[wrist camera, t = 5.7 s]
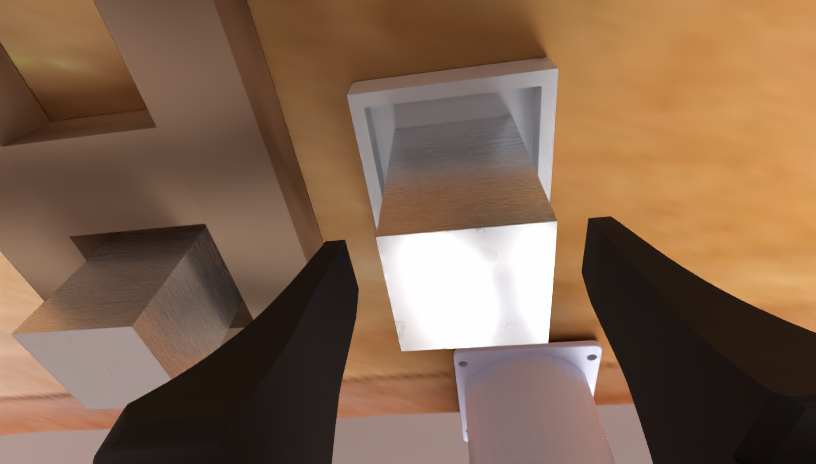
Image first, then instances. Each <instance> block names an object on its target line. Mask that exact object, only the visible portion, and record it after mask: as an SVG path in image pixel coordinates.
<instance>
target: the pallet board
mask: <svg viewBox="0 0 816 464" xmlns="http://www.w3.org/2000/svg"><path fill="white" fill-rule="evenodd" d="M93 1H94V3H95V5H96V7H97V9H98V11H99V13H100V15H101V17H102V19H103V21H104V23H105V25H106V27H107V29H108V31H109V33H110V35H111V37H112V39H113V41H114V43H115V45H116V47H117V49H118V51H119V53H120V55H121V57H122V59H123V61H124V63H125V65H126V67H127V69H128V71H129V73H130V75H131V77H132V79H133V81H134V83H135V85H136V87H137V89H138V91H139V93H140V95H141V97H142V99H143V101H144V103H145V105H146V107H147V109H144V110H136V111H128V112H121V113H113V114H105V115H98V116H90V117H82V118H75V119H67V120H59V121H52V122H51V121H50V120H49V118H48V117H47V115H46V114H45V112H44V111H43V109H42V108H41V106H40V104H39V103H38V101H37V100H36V98H35V97H34V95H33V94H32V92H31V91H30V89H29V88H28V86H27V84H26V83H25V81H24V80H23V78H22V77H21V75H20V74H19V72H18V71H17V69H16V67H15V66H14V64H13V63H12V61H11V60H10V58H9V57H8V55H7V54H6V52H5V50H4V49H3V47H2V46H1V44H0V251H1V252H2V253H3V255H4V256H5V257H6V258H7V259H8V260H9V261H10V263H11V264H12V265H13V266H14V267H15V268H16V269H17V270H18V272H19V273H20V274H21V275H22V276H23V277H24V278H25V280H26V281H27V282H28V283H29V284H30V285H31V286H32V288H33V289H34V290H35V291H36V292H37V293H38V294H39V296H40V297H41V298H42V299H43V300H44V301H46V300H47V299H48V298H49V297H50V296H51V295H52V294H53V293H54V292H55V291H56V290H57V289H58V288H59V287H60V286H61V285H62V284H63V283H64V282H65V281H66V280H67V279H68V278H69V277H70V276H71V275H72V274H73V273H74V272H75V271H76V270H77V269H78V268H79V267H80V266H81V265H83V264H84V263H85V262H86V261H87V260H88V259H89V258H90V257H91V256H92V255H93V254H94V253H95V252H96V251H97V250H98V249H99V248H100V247H101V246H102V245H103V244H104V243H105V242H106V241H107V240H108V239H109V238H110V237H111V236H112V235H113V234H114V233H115V232H121V231H132V230H142V229H152V228H163V227H173V226H184V225H194V224H206V226H207V228H208V230H209V232H210V234H211V236H212V238H213V240H214V242H215V244H216V246H217V248H218V250H219V252H220V254H221V256H222V258H223V260H224V262H225V264H226V266H227V268H228V270H229V272H230V274H231V276H232V278H233V280H234V282H235V284H236V286H237V288H238V290H239V292H240V294H241V296H242V298H243V301H242V303H241V305H240V307H239V309H238V311H237V313H236V315H235V317H234V319H233V321H232V323H231V325H230V327H229V329H228V331H227V333H226V335H225V337H224V339H223V341H222V343H221V345H220V346H222V345H223V344H224V343H226V342H227V341H228V340H230V339H231V338H232V337H234V336H235V335H236V334H238V333H239V332H240V331H241V330H242V329H244V328H245V327H246V326H247V325H248V324H249V323H250V322H252V321H253V320H254V319H255V318H256V317H257V316H258V315H259V314H260V313H262V312H263V311H264V310H265V309H266V308H267V307H268V306H269V305H270V304H271V303H272V302H273V301H274V300H275V299H276V298H277V296H278V295H279V294H280V293H281V292H282V291H283V290H284V289H285V288H286V287H287V286H288V285H289V284H290V283H291V282H292V280H293V279H294V278H295V277H296V276H297V275H298V274H299V272H300V271H301V270H302V269H303V268H304V267H305V265H306V264H307V263H308V262H309V261H310V259H311V258H312V257H313V256H314V255H315V253H316V252H317V251H318V250H319V249H320V247H321V246H322V245H323V244H324V243H323V240H322V237H321V234H320V231H319V227H318V224H317V221H316V218H315V215H314V212H313V208H312V205H311V202H310V199H309V196H308V193H307V190H306V186H305V183H304V180H303V177H302V174H301V171H300V167H299V164H298V161H297V158H296V155H295V152H294V149H293V145H292V142H291V139H290V136H289V133H288V130H287V127H286V123H285V120H284V117H283V114H282V111H281V108H280V104H279V101H278V98H277V95H276V92H275V89H274V86H273V82H272V79H271V76H270V73H269V70H268V67H267V63H266V60H265V57H264V54H263V51H262V48H261V45H260V41H259V38H258V35H257V32H256V29H255V26H254V23H253V19H252V16H251V13H250V10H249V7H248V4H247V0H93Z"/></svg>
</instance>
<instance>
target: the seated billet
mask: <svg viewBox="0 0 816 464" xmlns="http://www.w3.org/2000/svg"><path fill="white" fill-rule="evenodd" d="M242 301H243V298H242V296H241V294H240V292H239V290H238V288H237V286H236V284H235V282H234V280H233V278H232V276H231V274H230V272H229V270H228V268H227V266H226V264H225V262H224V260H223V258H222V256H221V254H220V252H219V250H218V248H217V246H216V244H215V242H214V240H213V238H212V236H211V234H210V232H209V230H208V228H207V226H206V224H194V225H184V226H173V227H163V228H152V229H142V230H132V231H121V232H115V233H114V234H113V235H112V236H111V237H110V238H109V239H108V240H107V241H106V242H105V243H104V244H103V245H102V246H101V247H100V248H99V249H98V250H97V251H96V252H95V253H94V254H93V255H92V256H91V257H90V258H89V259H88V260H87V261H86V262H85V263H84V264H83V265H81V266H80V267H79V268H78V269H77V270H76V271H75V272H74V273H73V274H72V275H71V276H70V277H69V278H68V279H67V280H66V281H65V282H64V283H63V284H62V285H61V286H60V287H59V288H58V289H57V290H56V291H55V292H54V293H53V294H52V295H51V296H50V297H49V298H48V299H47V300H46V301H45V302H44V303H43V304H42V305H41V306H40V307H39V308H38V309H37V310H35V311H34V312H33V313H32V314H31V315H30V316H29V317H28V318H27V319H26V320H25V321H24V322H23V323H22V324H21V325H20V326H19V327H18V328H17V329H16V330H15V331H14V332H13V333H12V334H11V335H12V336H13V337H14V338H15V339H16V340H17V341H18V342H19V343H20V344H21V345H22V346H23V347H24V348H25V349H26V350H27V351H28V352H29V353H30V354H31V355H32V356H33V357H34V358H35V359H36V360H37V361H38V362H39V363H40V364H41V365H42V366H43V367H44V368H45V369H46V370H47V371H48V372H49V373H50V374H51V375H52V376H53V377H54V378H55V379H56V380H57V381H58V382H59V383H60V384H61V385H62V386H63V387H64V388H65V389H66V390H67V391H68V392H69V393H70V394H71V395H72V396H73V397H74V398H75V399H76V400H77V401H78V402H79V403H80V404H81V405H82V406H83V407H84V408H85V409H107V408H125V407H126V405H127V404H129V403H130V402H132V401H134V400H136V399H138V398H140V397H142V396H143V395H145V394H147V393H149V392H150V391H152V390H154V389H156V388H158V387H159V386H161V385H163V384H165V383H166V382H168V381H170V380H171V379H173V378H175V377H176V376H178V375H180V374H181V373H183V372H184V371H186V370H187V369H189V368H191V367H192V366H194V365H195V364H197V363H198V362H200V361H201V360H203V359H204V358H205V357H207V356H208V355H210V354H211V353H213V352H214V351H215V350H216V349H218V348H219V347H220V345H221V343H222V341H223V339H224V337H225V335H226V333H227V331H228V329H229V327H230V325H231V323H232V321H233V319H234V317H235V315H236V313H237V311H238V309H239V307H240V305H241V303H242Z"/></svg>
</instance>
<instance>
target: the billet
mask: <svg viewBox="0 0 816 464" xmlns="http://www.w3.org/2000/svg"><path fill="white" fill-rule="evenodd" d="M557 222H558V221H557V219H556V217H555V214H554V212H553V210H552V207H551V205H550V203H549V200H548V198H547V196H546V193H545V191H544V189H543V186H542V184H541V182H540V179H539V177H538V175H537V172H536V170H535V168H534V165H533V163H532V161H531V158H530V156H529V154H528V151H527V149H526V147H525V144H524V142H523V140H522V137H521V135H520V133H519V130H518V128H517V126H516V123H515V121H514V119H513V116H512V115H506V116H497V117H489V118H480V119H472V120H463V121H454V122H446V123H437V124H429V125H420V126H411V127H403V128H395V130H394V135H393V141H392V147H391V153H390V158H389V164H388V170H387V175H386V181H385V187H384V193H383V198H382V204H381V210H380V215H379V221H378V227H377V232H376V241H377V245H378V250H379V254H380V259H381V263H382V267H383V272H384V276H385V281H386V285H387V290H388V294H389V298H390V303H391V307H392V312H393V316H394V320H395V325H396V329H397V334H398V338H399V343H400V347H401V351H417V350H435V349H453V348H471V347H489V346H507V345H525V344H543V343H548V337H549V325H550V312H551V299H552V286H553V273H554V261H555V248H556V235H557Z"/></svg>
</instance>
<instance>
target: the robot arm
mask: <svg viewBox="0 0 816 464" xmlns="http://www.w3.org/2000/svg"><path fill="white" fill-rule="evenodd" d="M582 275H583V279H584V282H585V286H586V289H587V292H588V295H589V298H590V302H591V304H592V306H593V308H594V311H595V313H596V315H597V317H598V319H599V322H600V324H601V326H602V328H603V330H604V332H605V334H606V337H607V339H608V341H609V343H610V345H611V347H612V349H613V352H614V354H615V356H616V358H617V360H618V362H619V364H620V367H621V369H622V371H623V374H624V376H625V379H626V381H627V384H628V387H629V390H630V393H631V395H632V398H633V401H634V404H635V407H636V410H637V413H638V416H639V419H640V422H641V426H642V428H643V432H644V435H645V438H646V441H647V445H648V448H649V451H650V454H651V458H652V461H653V464H816V333H815V332H812V331H810V330H807V329H805V328H802V327H800V326H797V325H795V324H792V323H790V322H788V321H785V320H783V319H781V318H779V317H776V316H774V315H772V314H770V313H767V312H765V311H763V310H761V309H758V308H756V307H754V306H752V305H750V304H748V303H746V302H744V301H742V300H740V299H738V298H736V297H734V296H732V295H730V294H729V293H727V292H725V291H723V290H721V289H719V288H717V287H715V286H714V285H712V284H710V283H708V282H706V281H705V280H703V279H701V278H700V277H698V276H696V275H695V274H693V273H692V272H690V271H688V270H687V269H685V268H684V267H682V266H680V265H679V264H677V263H676V262H674V261H673V260H671V259H670V258H668V257H667V256H665V255H664V254H662V253H661V252H660V251H658V250H657V249H655V248H654V247H652V246H651V245H650V244H648V243H647V242H645V241H644V240H643V239H641V238H640V237H639V236H637V235H636V234H635V233H633V232H632V231H630V230H629V229H628V228H626V227H625V226H624V225H622V224H621V223H620V222H618V221H617V220H615V219H614V218H612V217H611V216H610V217H599V218H589V219H588V227H587V234H586V242H585V250H584V257H583V265H582ZM358 290H359V288H358V285H357V281H356V278H355V274H354V270H353V267H352V263H351V260H350V256H349V253H348V249H347V246H346V242H345V240H337V241H326V242H325V243H324V244H323V245H322V246H321V247H320V249H319V250H318V251H317V252H316V253H315V255H314V256H313V257H312V258H311V259H310V261H309V262H308V263H307V264H306V265H305V267H304V268H303V269H302V270H301V271H300V272H299V274H298V275H297V276H296V277H295V278H294V279H293V280H292V282H291V283H290V284H289V285H288V286H287V287H286V288H285V289H284V290H283V291H282V292H281V293H280V294H279V295H278V296H277V298H276V299H275V300H274V301H273V302H272V303H271V304H270V305H269V306H268V307H267V308H266V309H265V310H264V311H263V312H262V313H260V314H259V315H258V316H257V317H256V318H255V319H254V320H253V321H252V322H250V323H249V324H248V325H247V326H246V327H245V328H244V329H242V330H241V331H240V332H239V333H238V334H236V335H235V336H234V337H232V338H231V339H230V340H228V341H227V342H226V343H224V344H223V345H222V346H220V347H219V348H218V349H216V350H215V351H214V352H213V353H211V354H210V355H208V356H207V357H205V358H204V359H203V360H201V361H200V362H198V363H197V364H195V365H194V366H192V367H191V368H189V369H187V370H186V371H184V372H183V373H181V374H180V375H178V376H176V377H175V378H173V379H171V380H170V381H168V382H166V383H165V384H163V385H161V386H159V387H158V388H156V389H154V390H152V391H150V392H149V393H147V394H145V395H143V396H142V397H140V398H138V399H136V400H134V401H132V402H130V403H129V404H127V405H126V407H125V408H124V410H123V412H122V413H121V415H120V416H119V418H118V420H117V421H116V423H115V424H114V426H113V427H112V429H111V431H110V432H109V434H108V435H107V437H106V439H105V440H104V442H103V443H102V445H101V447H100V448H99V450H98V451H97V453H96V455H95V456H94V460H93V464H332V455H333V444H334V434H335V424H336V417H337V408H338V400H339V393H340V387H341V382H342V377H343V373H344V369H345V364H346V360H347V356H348V351H349V347H350V343H351V338H352V334H353V329H354V325H355V320H356V313H357V303H358ZM601 354H602V347H601V345H600V343H599V342H598V341H594V340H588V341H570V342H552V343H543V344H525V345H507V346H489V347H471V348H458V349H456V350H455V351H454V353H453V357H454V366H455V374H456V383H457V391H458V399H459V408H460V416H461V424H462V433H463V439H464V440H465V441H466V442H468V448H469V462H470V464H616V462H615V460H614V457H613V454H612V451H611V448H610V445H609V442H608V440H607V436H606V433H605V431H604V428H603V425H602V422H601V419H600V416H599V413H598V410H597V407H596V404H595V401H594V399H593V396H594V391H595V385H596V380H597V375H598V370H599V365H600V359H601Z"/></svg>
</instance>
